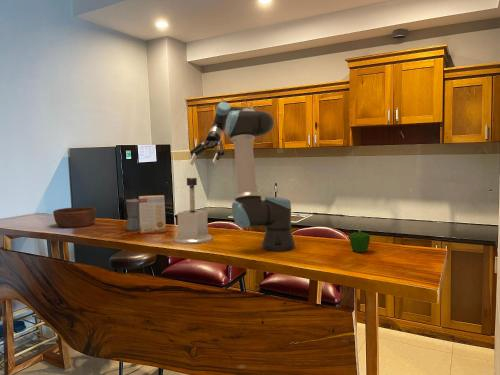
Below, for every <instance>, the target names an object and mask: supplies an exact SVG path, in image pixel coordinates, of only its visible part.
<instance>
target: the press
mask: <svg viewBox="0 0 500 375" xmlns="http://www.w3.org/2000/svg"><path fill="white" fill-rule="evenodd" d="M208 229H209V228H208V210H203V209H202V210H200V209H199V210H198V209H195V212H190V209H186V210H183V211H180V212H177V235H176V236H174V237H173V238H172V239H173V242H174V243H176V244H181V245H196V244H198V245H199V244H203V243H204V244H205V243H208V242H211V241H212V240H214V236H213V235H212V234H209V232H208Z"/></svg>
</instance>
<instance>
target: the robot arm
mask: <svg viewBox="0 0 500 375" xmlns="http://www.w3.org/2000/svg"><path fill="white" fill-rule="evenodd" d="M274 125H275V119H274V117H273V115H271V113H268V112H267V111H261V110H255V108H254V107H252V106H231V105H230V104H229V103H228V102H225V101H221V102H219V103H218V104H217V106H216V109H215V115H214V118H213V122H212V126H211V127H210V129H209V132H208V133H207V136H206V138H205V141H202V140H200V141H199V143H198V144H196V146H194V148H192V149H191V150H190V151H189V153H190V155H191V157H190V161H189V163H190V165H191V166H194V163H195V162H196V160H197V156H199V155H200V154H201V153H202V152H204V151H207V150H214V151H215V152H216V153H215V155H214V158H213V159H212V163H213V165H214V166H216V165H217V163H218V161H219V160H220V158H221V156H225V154H226V153H225V150H224V142H223V141H222V140H221V139H222V138H223V134H224V132H225V135H226V136H227V137H229V140H230V142H231V143H233V149H234V160H235V162H234V163H235V170H236V183H237V184H236V185H237V193H238V194H237V195H236V197H235V199H234V200H235V201H233V202H232V204H231V213H232V218H233V221H234V223H235V225H236V226H237V227H239V228H256V227H265V232H264V236H263V240H262V242H261V248H262V249H263V250H266V251H270V252H271V251H272V252H288V251H292V250H294V249H295V248H296V242H295V240H294V237H293V233H292V205H291V204H292V203H291V200H290V199H288V198H282V197H278V196H277V197H276V196H265V197H264V200H262V196H261V195H260V194H259V193H258V188H257V187H258V186H257V178H256V169H255V168H256V166H255V155H254V146H253V145H254V144H253V142H254V140H255V139H256V137H261V136H262V137H263V136H265V135H267V134H269V133H270V132H272V130H273V129H274ZM218 146H219V149H220V150H219V149H218Z"/></svg>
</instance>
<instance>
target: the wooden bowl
mask: <svg viewBox="0 0 500 375" xmlns="http://www.w3.org/2000/svg"><path fill="white" fill-rule="evenodd" d="M52 214H53V219H54V222H55V223H56V225H57V227H59V228H62V229H63V228H64V229H67V228H68V229H74V228H82V227H83V228H84V227H89V226H91V225H93V224H94V223H95V220H96V218H97V208H96V207H92V206H91V207H90V206H88V207H87V206H78V207H77V206H74V207H65V208H59V209H55V210H53V212H52Z"/></svg>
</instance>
